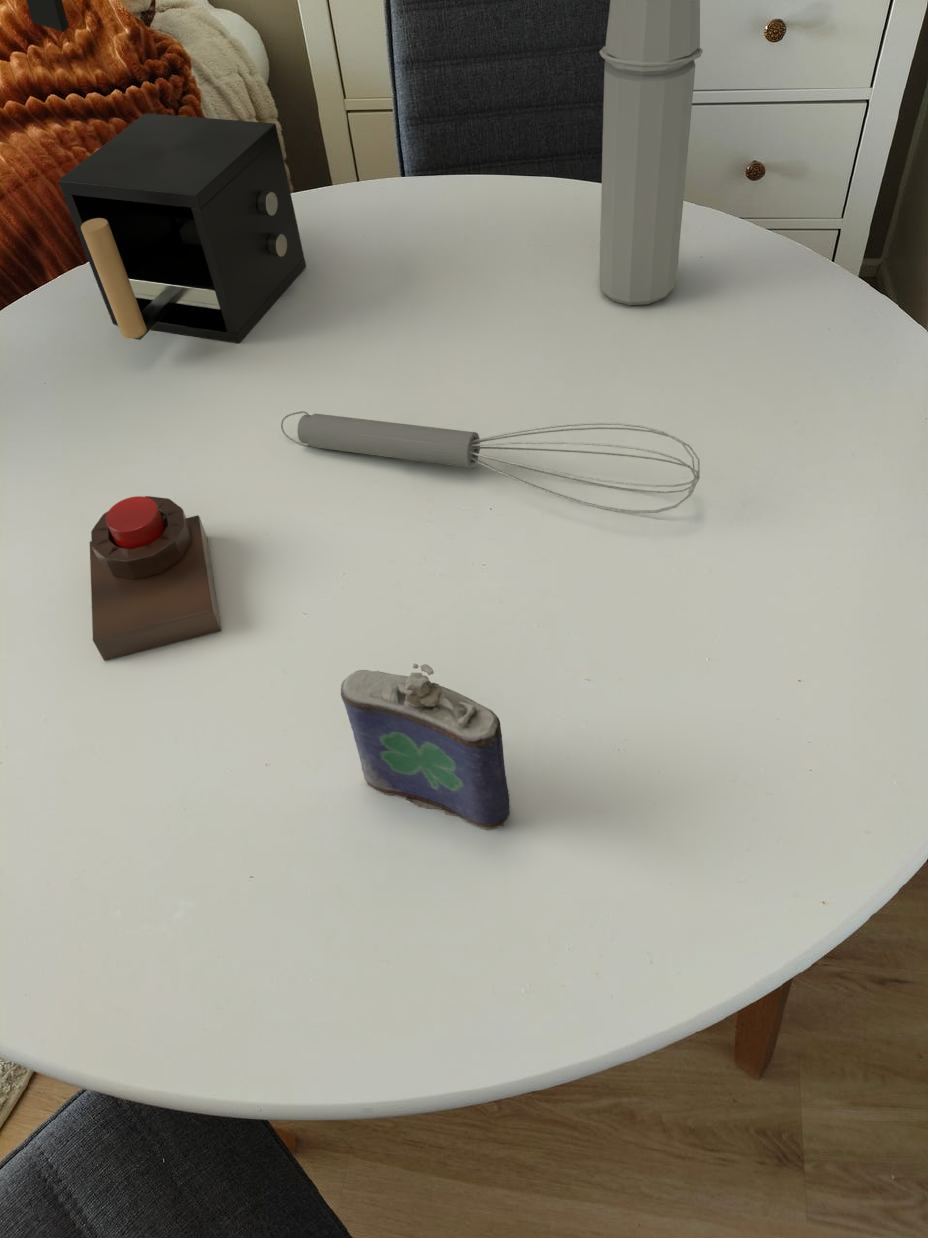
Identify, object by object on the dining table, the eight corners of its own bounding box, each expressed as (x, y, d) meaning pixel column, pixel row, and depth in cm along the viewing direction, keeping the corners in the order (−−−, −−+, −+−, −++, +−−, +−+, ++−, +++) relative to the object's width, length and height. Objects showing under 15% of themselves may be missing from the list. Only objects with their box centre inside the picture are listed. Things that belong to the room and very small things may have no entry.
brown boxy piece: (99, 551, 74) (79, 511, 71) (205, 525, 75) (190, 485, 72) (104, 661, 67) (82, 622, 64) (221, 631, 68) (205, 591, 65)
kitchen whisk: (300, 415, 83) (284, 351, 79) (703, 488, 74) (713, 420, 69) (266, 461, 80) (247, 396, 75) (685, 544, 70) (694, 476, 65)
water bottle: (672, 314, 89) (699, 0, 70) (586, 305, 91) (591, -2, 72) (689, 261, 95) (719, -42, 76) (608, 254, 97) (617, -43, 78)
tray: (77, 334, 89) (30, 224, 82) (183, 233, 100) (151, 127, 93) (183, 351, 86) (144, 237, 78) (281, 245, 97) (256, 136, 89)
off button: (113, 521, 71) (104, 503, 70) (163, 509, 71) (155, 490, 70) (115, 555, 69) (106, 536, 67) (166, 542, 69) (159, 523, 68)
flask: (357, 785, 59) (324, 673, 51) (380, 747, 61) (352, 632, 53) (500, 838, 56) (489, 727, 48) (520, 796, 57) (513, 682, 49)
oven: (113, 324, 96) (56, 180, 85) (187, 251, 104) (145, 112, 93) (248, 344, 91) (207, 195, 81) (315, 267, 100) (285, 123, 89)
